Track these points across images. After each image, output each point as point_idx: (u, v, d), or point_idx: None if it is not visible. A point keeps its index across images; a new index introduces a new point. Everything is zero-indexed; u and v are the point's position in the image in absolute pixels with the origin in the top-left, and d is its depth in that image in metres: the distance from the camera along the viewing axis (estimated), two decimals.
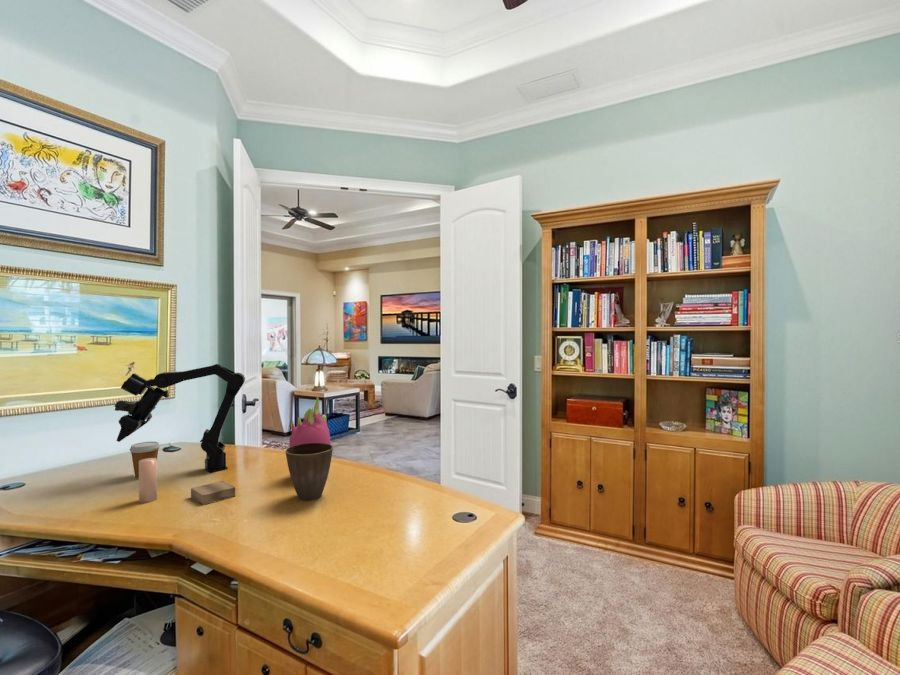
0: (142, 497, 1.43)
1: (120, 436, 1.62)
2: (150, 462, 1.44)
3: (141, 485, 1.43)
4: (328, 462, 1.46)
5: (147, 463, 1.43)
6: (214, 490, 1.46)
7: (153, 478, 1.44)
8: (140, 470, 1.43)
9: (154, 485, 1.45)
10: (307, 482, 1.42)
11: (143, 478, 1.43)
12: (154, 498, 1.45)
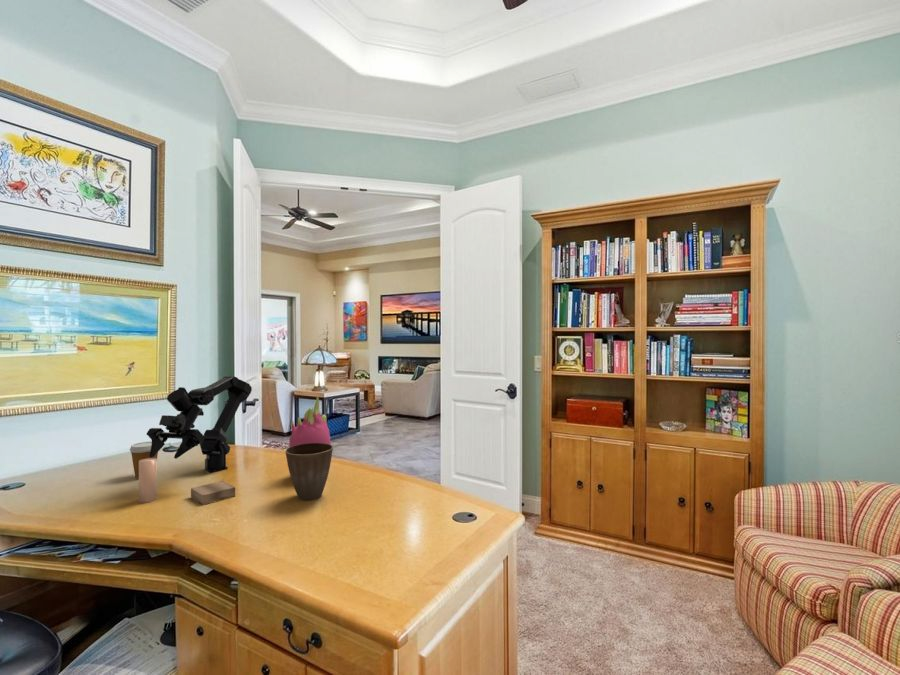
0: (142, 497, 1.43)
1: (180, 452, 1.52)
2: (150, 462, 1.44)
3: (141, 485, 1.43)
4: (328, 462, 1.46)
5: (147, 463, 1.43)
6: (214, 490, 1.46)
7: (153, 478, 1.44)
8: (140, 470, 1.43)
9: (154, 485, 1.45)
10: (307, 482, 1.42)
11: (143, 478, 1.43)
12: (154, 498, 1.45)
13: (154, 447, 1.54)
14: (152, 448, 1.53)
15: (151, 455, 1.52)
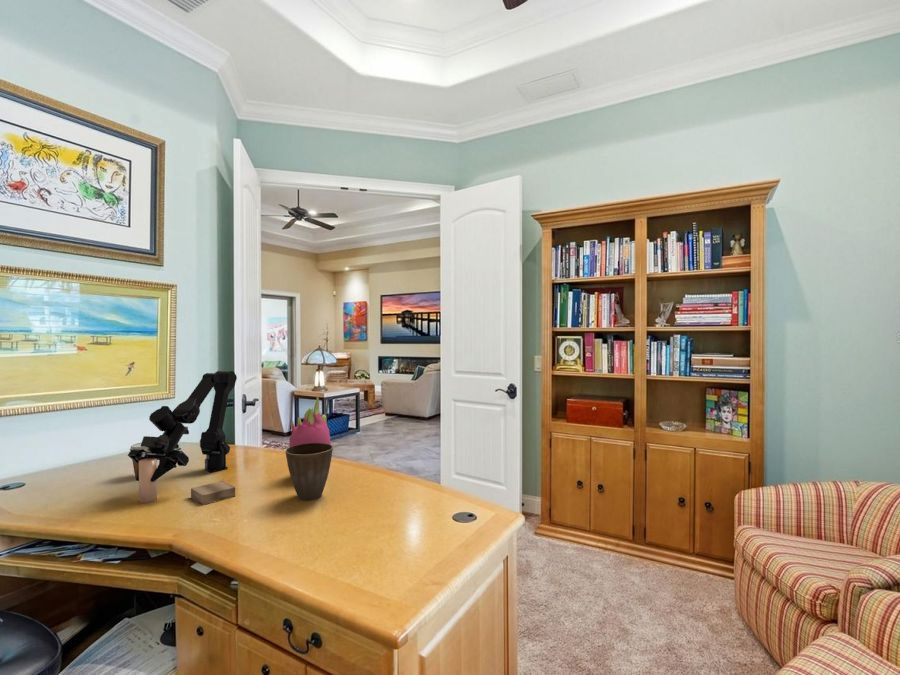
0: (142, 497, 1.43)
1: (157, 475, 1.45)
2: (150, 462, 1.44)
3: (141, 485, 1.43)
4: (328, 462, 1.46)
5: (147, 463, 1.43)
6: (214, 490, 1.46)
7: None
8: (140, 470, 1.43)
9: (154, 485, 1.45)
10: (307, 482, 1.42)
11: (143, 478, 1.43)
12: (154, 498, 1.45)
13: None
14: None
15: (138, 478, 1.44)
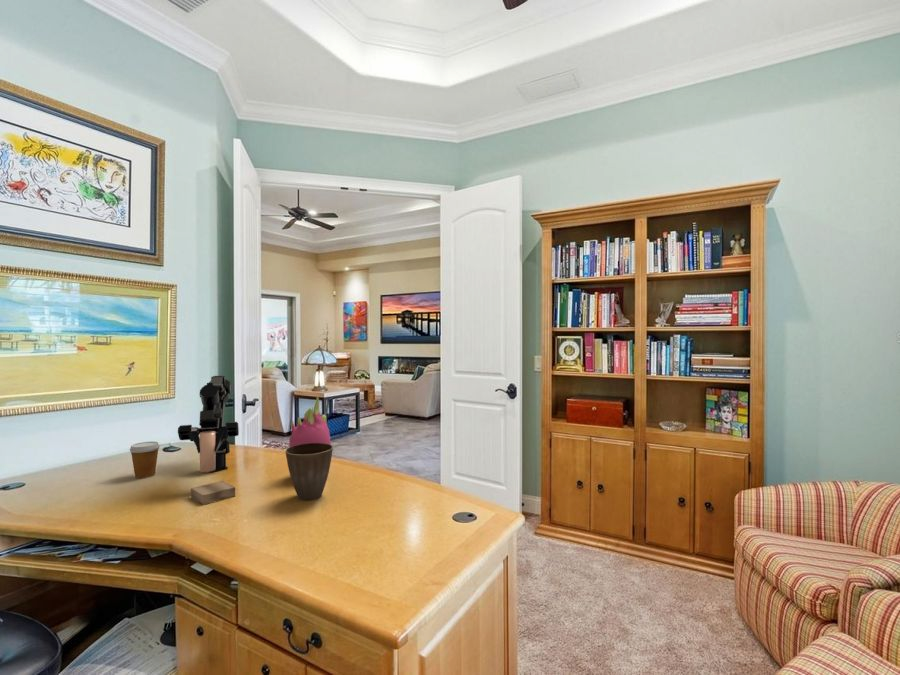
0: (207, 466, 1.53)
1: (218, 445, 1.56)
2: (213, 433, 1.54)
3: (206, 456, 1.53)
4: (328, 462, 1.46)
5: (211, 434, 1.54)
6: (214, 490, 1.46)
7: None
8: (204, 442, 1.53)
9: (215, 455, 1.56)
10: (307, 482, 1.42)
11: (208, 448, 1.53)
12: (215, 467, 1.56)
13: (199, 443, 1.54)
14: (197, 444, 1.54)
15: (199, 450, 1.53)
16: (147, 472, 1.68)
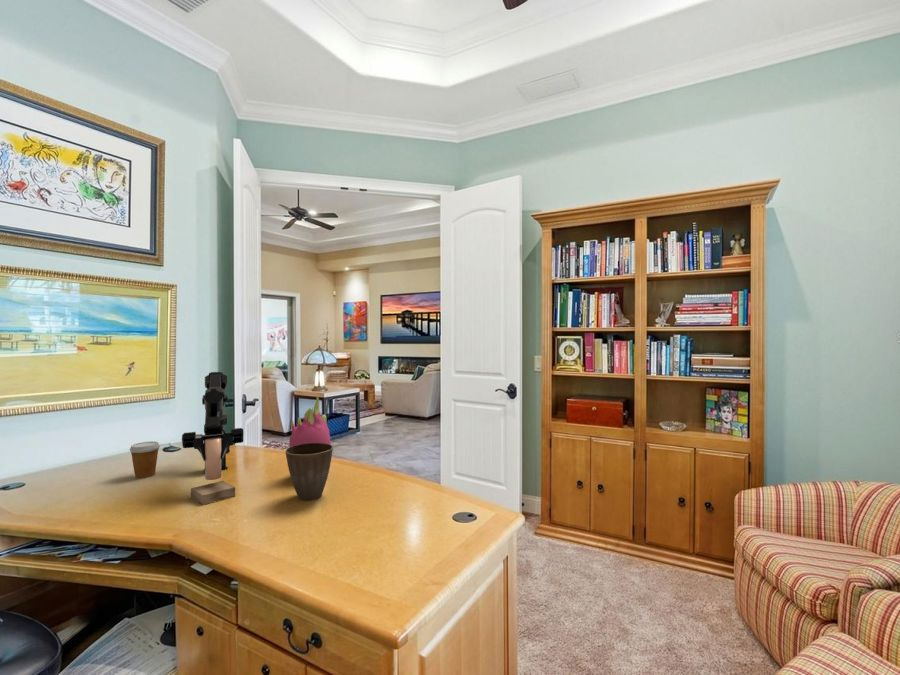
0: (213, 474, 1.49)
1: (224, 452, 1.53)
2: (219, 440, 1.51)
3: (212, 463, 1.49)
4: (328, 462, 1.46)
5: (218, 441, 1.50)
6: (214, 490, 1.46)
7: None
8: (211, 449, 1.49)
9: None
10: (307, 482, 1.42)
11: (214, 455, 1.49)
12: None
13: None
14: (203, 451, 1.50)
15: None
16: (147, 472, 1.68)
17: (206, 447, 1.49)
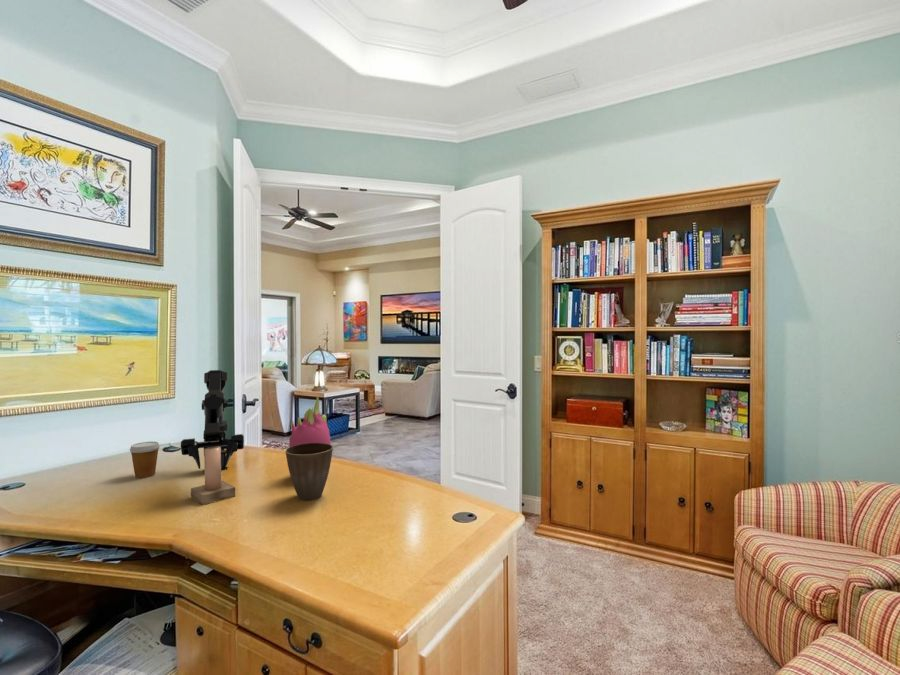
0: (213, 484, 1.46)
1: (228, 459, 1.50)
2: (219, 449, 1.48)
3: (212, 473, 1.46)
4: (328, 462, 1.46)
5: (217, 450, 1.47)
6: (214, 490, 1.46)
7: (220, 464, 1.49)
8: (210, 458, 1.46)
9: None
10: (307, 482, 1.42)
11: (214, 465, 1.46)
12: None
13: (199, 458, 1.47)
14: (198, 459, 1.46)
15: (199, 466, 1.45)
16: (147, 472, 1.68)
17: (205, 456, 1.46)
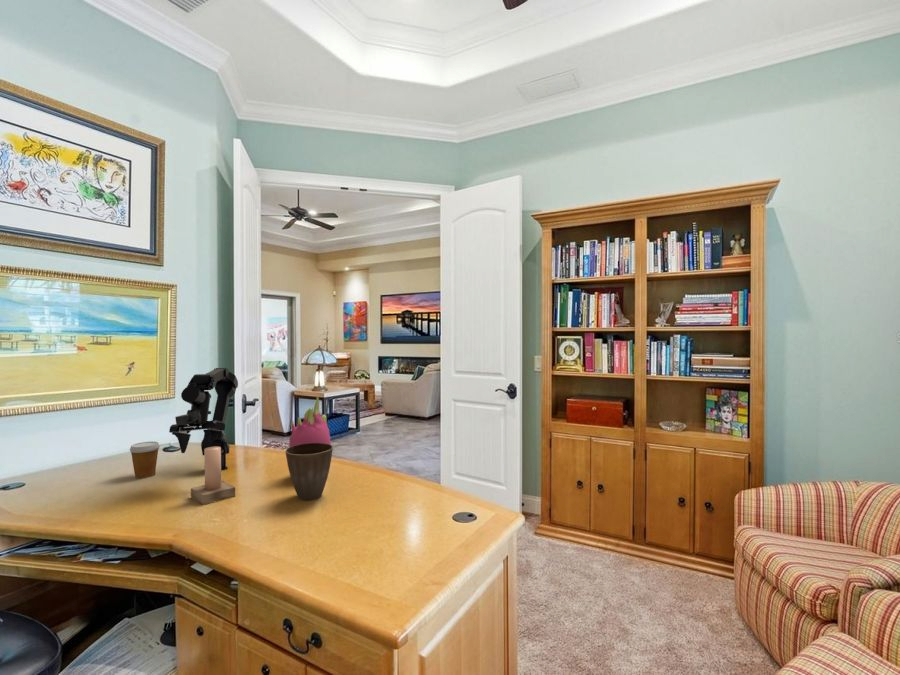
0: (213, 484, 1.46)
1: (208, 444, 1.57)
2: (219, 449, 1.48)
3: (212, 473, 1.46)
4: (328, 462, 1.46)
5: (217, 450, 1.47)
6: (214, 490, 1.46)
7: (220, 465, 1.48)
8: (210, 458, 1.46)
9: None
10: (307, 482, 1.42)
11: (214, 465, 1.46)
12: None
13: (182, 443, 1.59)
14: (181, 445, 1.58)
15: (183, 451, 1.58)
16: (147, 472, 1.68)
17: (205, 456, 1.46)
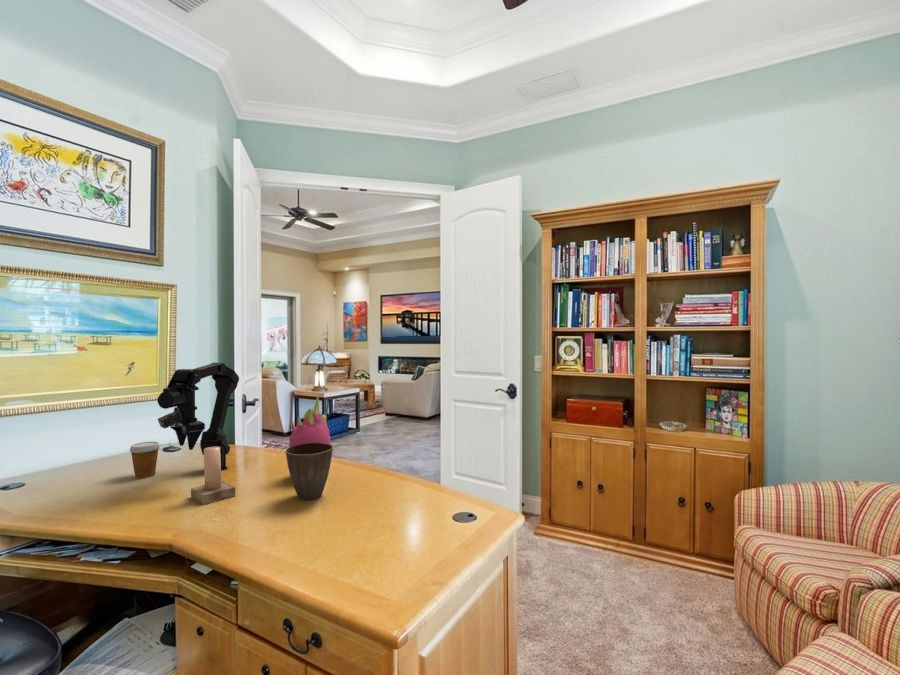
0: (213, 484, 1.46)
1: (191, 444, 1.57)
2: (218, 449, 1.48)
3: (212, 473, 1.46)
4: (328, 462, 1.46)
5: (217, 450, 1.47)
6: (214, 490, 1.46)
7: (220, 464, 1.49)
8: (210, 458, 1.46)
9: (220, 471, 1.49)
10: (307, 482, 1.42)
11: (214, 465, 1.46)
12: None
13: (179, 436, 1.63)
14: (178, 438, 1.63)
15: (181, 444, 1.64)
16: (147, 472, 1.68)
17: (205, 457, 1.46)
